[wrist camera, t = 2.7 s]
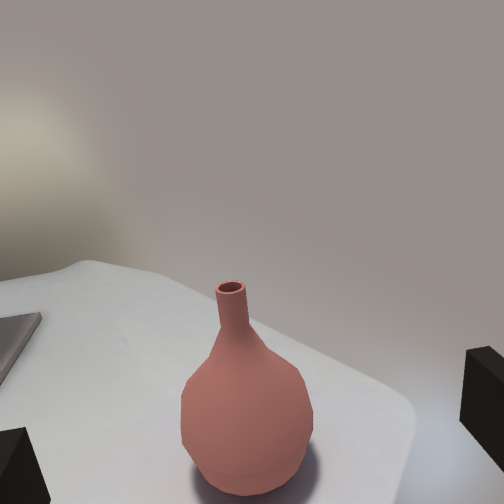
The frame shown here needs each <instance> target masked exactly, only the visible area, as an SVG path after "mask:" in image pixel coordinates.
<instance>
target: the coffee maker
mask: <svg viewBox="0 0 504 504" xmlns="http://www.w3.org/2000/svg"><path fill="white" fill-rule="evenodd" d="M41 319H42V316H41V313H40V312H38V313H32V314H25V315H19V316H12V317H6V318H0V384H1V382H2V381H3V379H4V378H5V376H6V375H7V373H8V371H9V370H10V368H11V367H12V365H13V363H14V362H15V360H16V359H17V357H18V356H19V354H20V352H21V351H22V349H23V348H24V346H25V344H26V343H27V341H28V340H29V338H30V337H31V335H32V333H33V332H34V330H35V329H36V327H37V325H38V324H39V322H40V321H41Z"/></svg>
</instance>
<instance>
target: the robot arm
mask: <svg viewBox="0 0 504 504" xmlns="http://www.w3.org/2000/svg"><path fill="white" fill-rule="evenodd" d="M459 420H460V422H461V423H462V424H463V425H464V426H465V428H466V429H467V430H468V431H469V432H470V433H471V434H472V436H473V437H474V438H475V439H476V440H477V442H478V443H479V444H480V445H481V446H482V447H483V449H484V450H485V451H486V452H487V453H488V455H489V456H490V457H491V458H492V459H493V460H494V461H495V463H496V464H497V465H498V466H499V467H500V469H501V470H502V471H503V472H504V358H503V357H502V356H501V355H500V354H498V353H497V352H496V351H495V350H494V349H492V348H491V347H490V346H486V347H480V348H475V349H469V350H466V361H465V370H464V380H463V389H462V399H461V410H460V419H459ZM50 501H51V498H50V495H49V492H48V489H47V487H46V484H45V481H44V478H43V475H42V473H41V470H40V467H39V464H38V461H37V458H36V456H35V453H34V450H33V447H32V444H31V442H30V439H29V436H28V433H27V430H26V427H23V428H17V429H11V430H5V431H0V504H50Z"/></svg>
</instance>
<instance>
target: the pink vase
mask: <svg viewBox="0 0 504 504" xmlns="http://www.w3.org/2000/svg"><path fill="white" fill-rule="evenodd" d="M215 291H216V298H217V304H218V311H219V317H220V324H221V329H220V331H219V334H218V336H217V338H216V341H215V343H214V346H213V348H212V351H211V353H210V356H209V357H208V358H207V359H206V361H205V362H204V363H203V364H202V365H201V366H200V367H199V368H198V370H197V371H196V372H195V373H194V374H193V375H192V376H191V377H190V379H189V380H188V381H187V383H186V385H185V388H184V390H183V393H182V395H181V436H182V444H183V446H184V447H185V449H186V450H187V452H188V453H189V455H190V456H191V458H192V459H193V461H194V462H195V464H196V465H197V467H198V469H199V470H200V472H201V473H202V475H203V476H204V478H205V479H206V481H207V482H208V483H210V484H211V485H213V486H214V487H216V488H217V489H219V490H221V491H222V492H225V493H230V494H235V495H240V496H248V495H257V494H264V493H267V492H269V491H271V490H273V489H275V488H278V487H280V486H282V485H284V484H285V483H286V482H287V481H288V480H289V479H290V478H291V477H292V476H293V475H294V474H295V473H296V472H297V471H298V469H299V466H300V464H301V462H302V460H303V458H304V455H305V452H306V449H307V446H308V443H309V440H310V437H311V434H312V431H313V410H312V406H311V403H310V399H309V396H308V392H307V389H306V386H305V382H304V380H303V378H302V376H301V374H300V373H299V371H298V369H297V368H296V367H294V366H293V365H292V364H290V363H289V362H288V361H286V360H285V359H283V358H282V357H280V356H279V355H277V354H276V353H274V352H273V351H271V350H270V349H268V348H267V346H266V345H265V344H264V342H263V341H262V340H261V339H260V337H259V336H258V335H257V333H256V332H255V331H254V329H253V328H252V327H251V325H250V324H249V316H248V307H247V299H246V290H245V284H244V283H243V282H240V281H226V282H223V283H220V284H218V285H217V286H216V288H215Z"/></svg>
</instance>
